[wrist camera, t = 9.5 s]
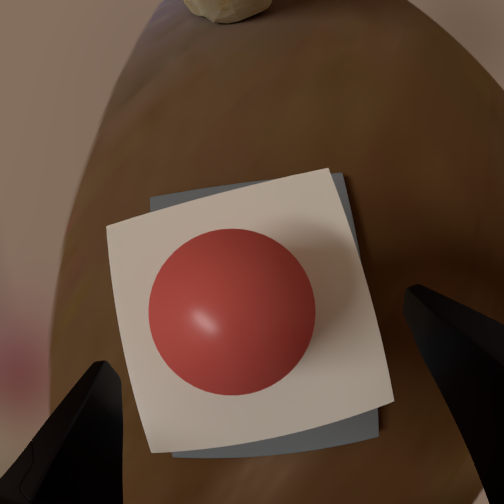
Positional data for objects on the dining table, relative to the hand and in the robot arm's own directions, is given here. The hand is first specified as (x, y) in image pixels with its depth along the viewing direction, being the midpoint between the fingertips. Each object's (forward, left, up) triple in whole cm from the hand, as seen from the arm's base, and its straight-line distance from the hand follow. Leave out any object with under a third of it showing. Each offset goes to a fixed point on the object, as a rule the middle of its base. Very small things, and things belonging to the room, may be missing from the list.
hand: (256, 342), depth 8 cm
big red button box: (+1, 0, -8) cm, 8 cm away
